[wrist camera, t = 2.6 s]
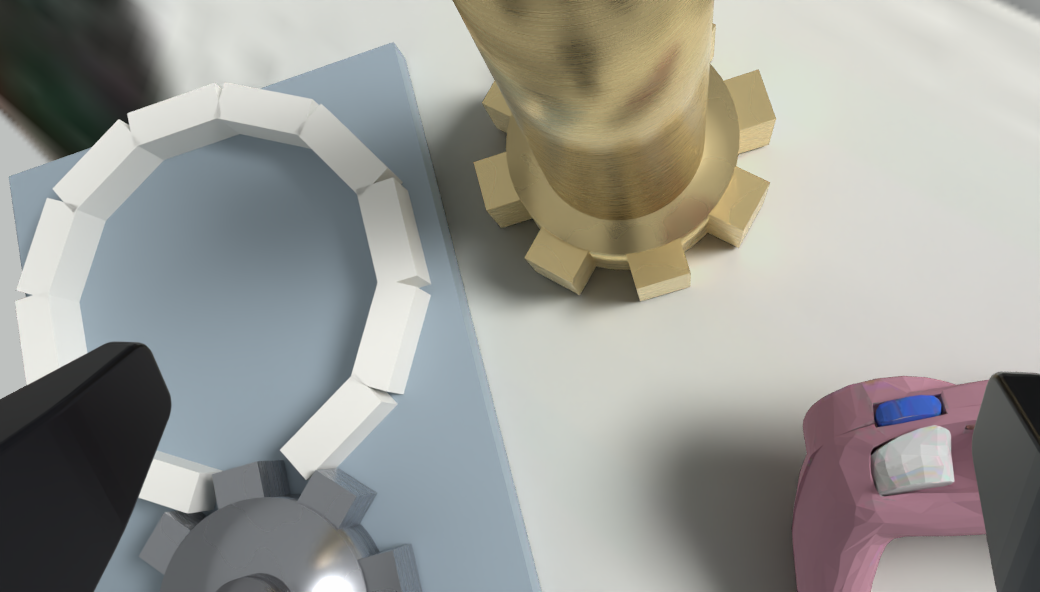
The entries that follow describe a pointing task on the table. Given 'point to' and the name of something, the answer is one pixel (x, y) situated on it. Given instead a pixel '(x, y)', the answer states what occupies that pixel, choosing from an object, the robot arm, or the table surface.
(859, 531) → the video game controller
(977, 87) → the table surface
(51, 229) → the gear board
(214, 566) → the fixed gear
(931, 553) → the table surface
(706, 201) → the brass gear
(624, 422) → the table surface
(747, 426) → the table surface
